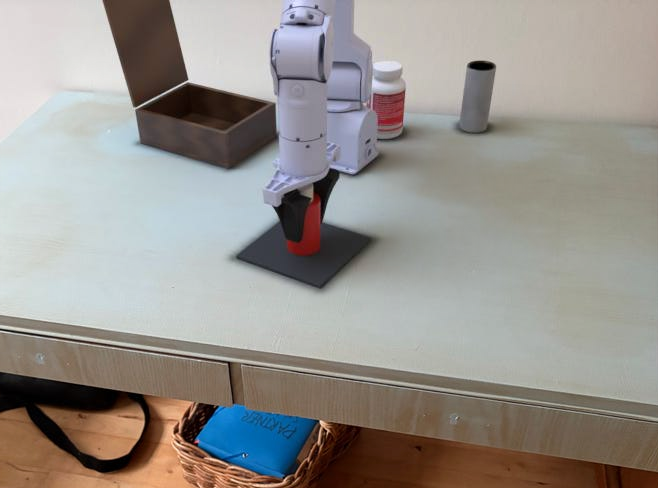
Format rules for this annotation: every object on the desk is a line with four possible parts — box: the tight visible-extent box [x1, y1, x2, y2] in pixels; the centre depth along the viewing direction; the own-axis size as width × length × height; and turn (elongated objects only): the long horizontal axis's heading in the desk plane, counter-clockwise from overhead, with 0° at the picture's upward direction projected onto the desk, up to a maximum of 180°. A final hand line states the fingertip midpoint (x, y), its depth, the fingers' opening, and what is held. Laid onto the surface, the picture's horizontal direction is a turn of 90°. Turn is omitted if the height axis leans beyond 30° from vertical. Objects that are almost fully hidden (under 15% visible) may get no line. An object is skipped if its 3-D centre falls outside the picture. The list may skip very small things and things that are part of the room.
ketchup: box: [287, 183, 320, 255], centre depth 96 cm, size 4×4×9 cm
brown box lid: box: [101, 0, 189, 109], centre depth 121 cm, size 19×14×4 cm
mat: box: [235, 220, 372, 289], centre depth 99 cm, size 13×13×1 cm
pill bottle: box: [365, 60, 407, 140], centre depth 122 cm, size 6×6×11 cm
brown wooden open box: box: [134, 81, 278, 170], centre depth 124 cm, size 19×14×6 cm
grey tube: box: [459, 59, 497, 134], centre depth 122 cm, size 4×4×10 cm
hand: (304, 231), depth 97 cm, fingers closed on ketchup, 4 cm apart
